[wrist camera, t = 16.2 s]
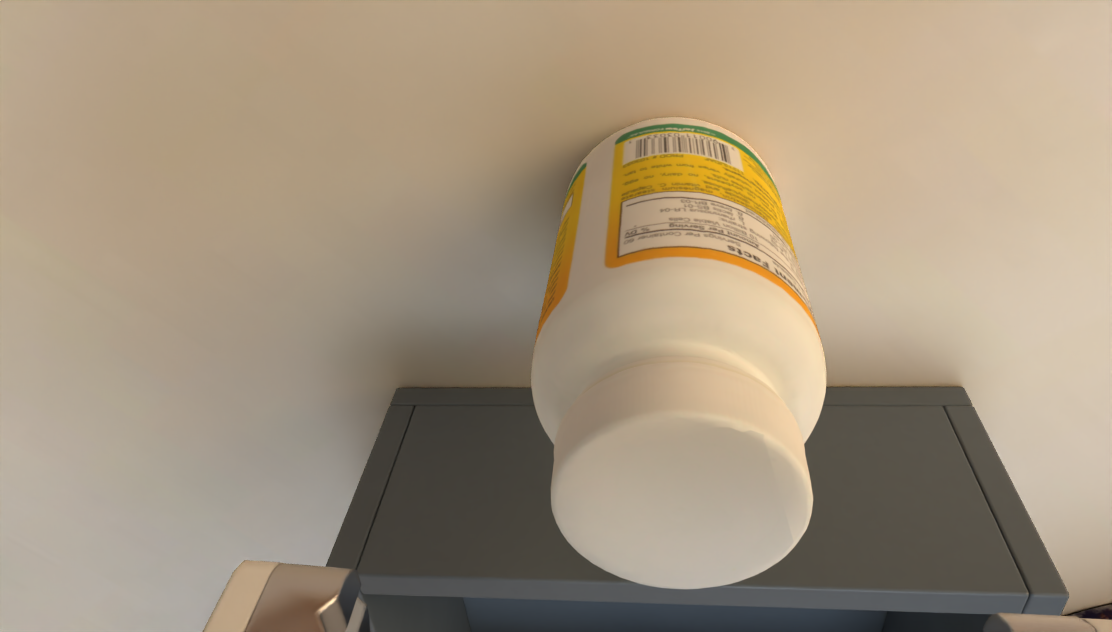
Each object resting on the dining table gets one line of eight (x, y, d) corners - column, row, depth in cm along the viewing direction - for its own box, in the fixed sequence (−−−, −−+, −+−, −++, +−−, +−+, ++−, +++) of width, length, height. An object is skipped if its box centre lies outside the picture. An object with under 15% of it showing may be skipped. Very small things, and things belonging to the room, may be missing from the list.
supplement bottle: (697, 63, 17) (740, 308, 10) (817, 232, 19) (932, 544, 12) (518, 195, 20) (435, 478, 12) (643, 332, 22) (642, 649, 14)
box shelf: (459, 625, 31) (419, 810, 26) (396, 386, 24) (321, 573, 18) (890, 641, 29) (948, 847, 24) (964, 385, 22) (1072, 595, 16)
